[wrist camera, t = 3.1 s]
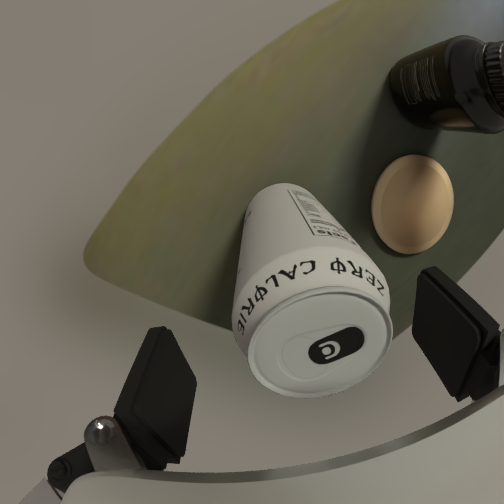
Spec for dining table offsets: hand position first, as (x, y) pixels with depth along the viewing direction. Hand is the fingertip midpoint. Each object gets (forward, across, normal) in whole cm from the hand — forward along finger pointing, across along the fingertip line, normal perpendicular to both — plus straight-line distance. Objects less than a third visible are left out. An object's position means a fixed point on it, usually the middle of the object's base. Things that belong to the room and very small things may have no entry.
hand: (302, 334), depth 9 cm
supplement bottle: (+14, -15, -9) cm, 22 cm away
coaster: (+13, -13, +1) cm, 19 cm away
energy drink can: (+14, -1, 0) cm, 14 cm away
